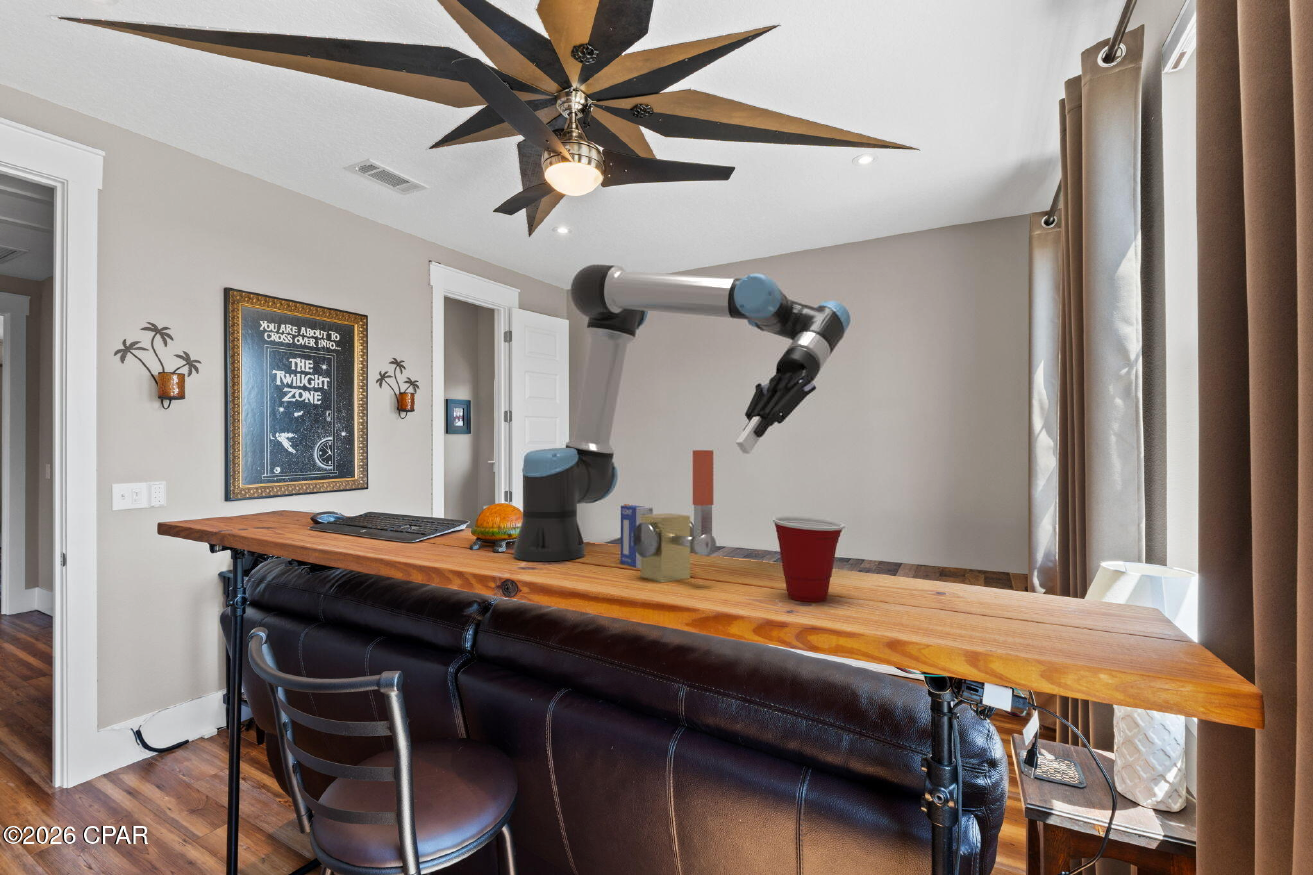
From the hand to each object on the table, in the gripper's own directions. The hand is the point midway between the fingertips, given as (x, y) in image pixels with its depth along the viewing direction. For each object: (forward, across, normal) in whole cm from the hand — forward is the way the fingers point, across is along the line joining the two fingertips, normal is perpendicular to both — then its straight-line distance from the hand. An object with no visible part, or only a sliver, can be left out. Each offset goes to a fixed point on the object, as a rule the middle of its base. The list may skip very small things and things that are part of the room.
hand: (742, 447), depth 100 cm
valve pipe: (+22, +9, -11) cm, 26 cm away
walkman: (+20, +24, -13) cm, 34 cm away
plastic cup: (+17, -14, -16) cm, 27 cm away
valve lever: (+18, +1, -7) cm, 20 cm away
